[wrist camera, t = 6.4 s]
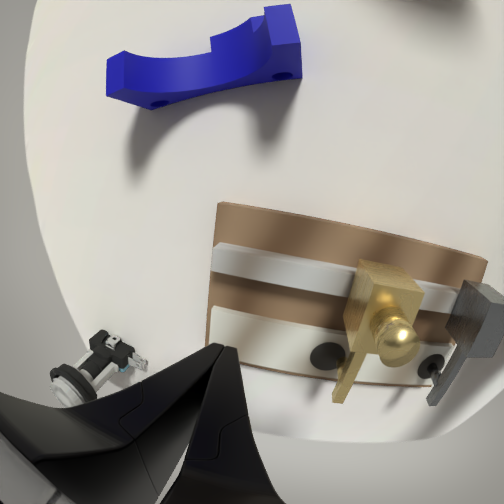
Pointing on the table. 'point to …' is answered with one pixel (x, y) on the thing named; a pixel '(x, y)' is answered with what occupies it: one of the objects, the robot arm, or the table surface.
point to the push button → (92, 369)
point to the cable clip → (212, 63)
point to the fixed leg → (469, 332)
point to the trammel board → (328, 250)
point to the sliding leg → (378, 321)
